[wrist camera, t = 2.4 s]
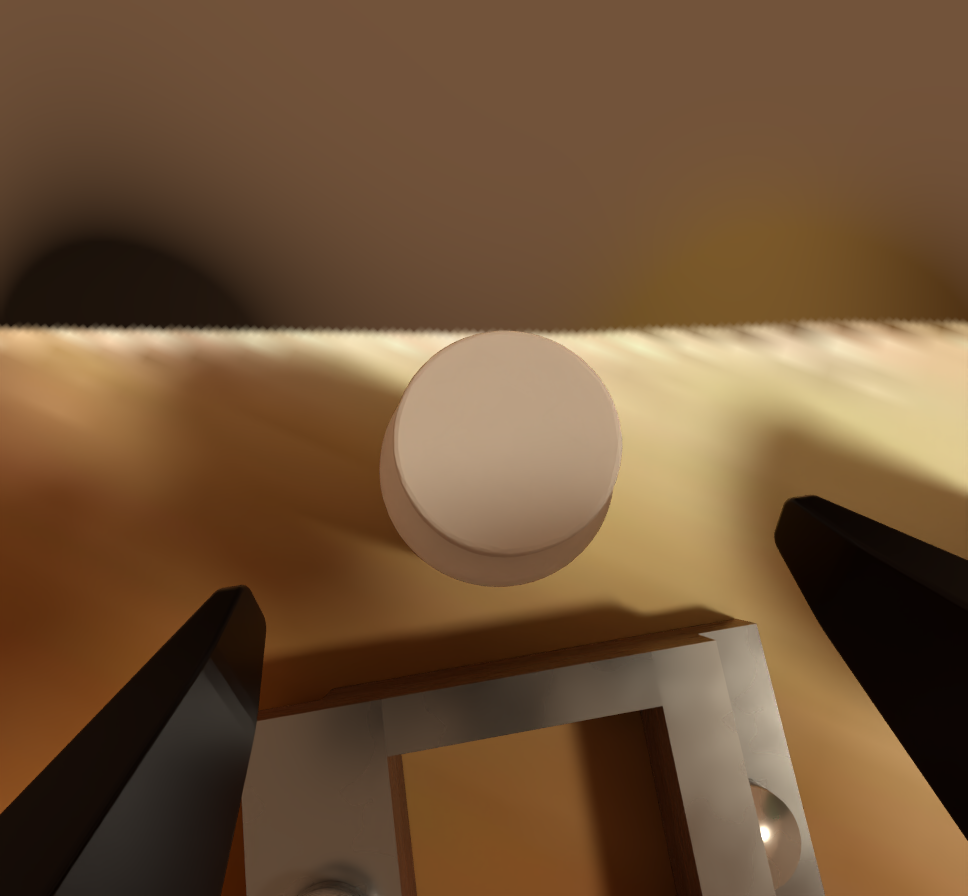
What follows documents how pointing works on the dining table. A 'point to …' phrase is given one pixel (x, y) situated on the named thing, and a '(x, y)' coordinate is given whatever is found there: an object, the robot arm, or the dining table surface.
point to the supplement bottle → (501, 459)
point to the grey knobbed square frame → (522, 707)
